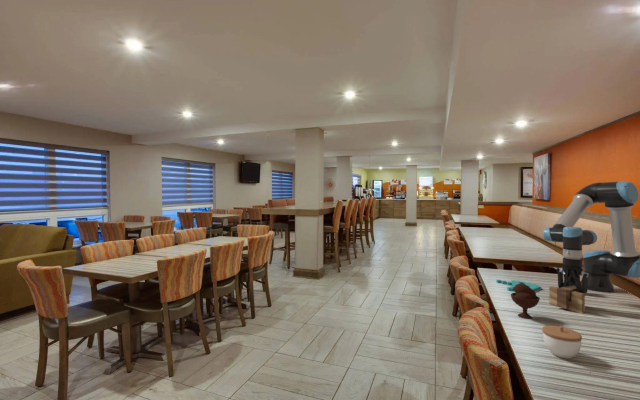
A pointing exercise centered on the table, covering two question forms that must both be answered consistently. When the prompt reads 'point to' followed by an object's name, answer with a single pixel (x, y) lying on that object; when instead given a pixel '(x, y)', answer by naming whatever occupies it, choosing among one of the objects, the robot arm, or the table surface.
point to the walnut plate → (564, 296)
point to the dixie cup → (572, 281)
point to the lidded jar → (562, 341)
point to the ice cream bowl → (524, 299)
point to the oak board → (574, 304)
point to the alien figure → (515, 282)
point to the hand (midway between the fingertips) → (572, 304)
